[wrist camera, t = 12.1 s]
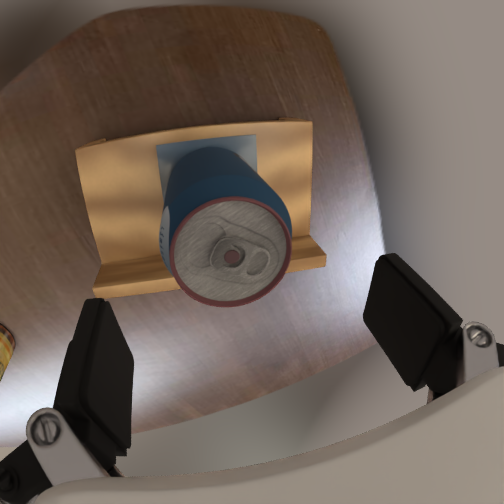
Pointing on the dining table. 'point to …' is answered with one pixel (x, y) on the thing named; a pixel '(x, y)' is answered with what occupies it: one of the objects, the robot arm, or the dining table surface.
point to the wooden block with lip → (155, 185)
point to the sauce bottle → (5, 349)
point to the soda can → (223, 229)
